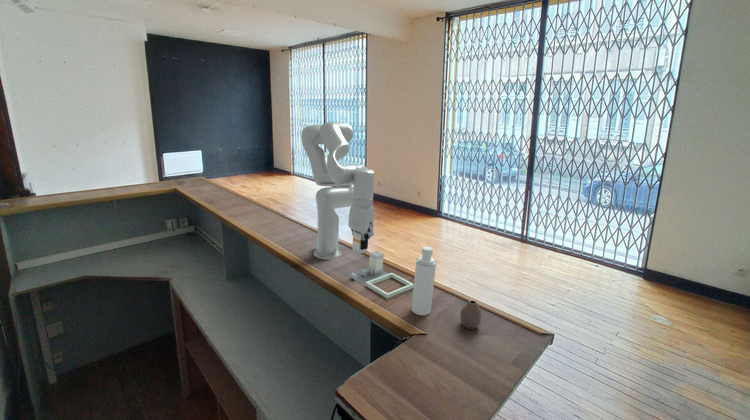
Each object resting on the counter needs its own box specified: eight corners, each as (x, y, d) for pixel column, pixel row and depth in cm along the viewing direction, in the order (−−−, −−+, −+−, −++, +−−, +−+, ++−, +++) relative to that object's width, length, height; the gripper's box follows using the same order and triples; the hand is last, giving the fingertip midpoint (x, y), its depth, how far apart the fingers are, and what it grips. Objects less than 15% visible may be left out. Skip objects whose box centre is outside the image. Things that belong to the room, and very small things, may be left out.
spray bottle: (434, 313, 130) (442, 246, 123) (417, 317, 127) (424, 248, 120) (424, 304, 135) (431, 239, 128) (408, 307, 133) (414, 241, 126)
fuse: (368, 270, 156) (369, 252, 153) (375, 268, 158) (377, 250, 156) (375, 274, 153) (376, 256, 150) (382, 271, 155) (383, 254, 153)
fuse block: (345, 277, 151) (345, 269, 150) (372, 268, 161) (373, 261, 160) (360, 287, 144) (361, 279, 143) (388, 277, 154) (389, 269, 153)
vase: (456, 327, 123) (459, 303, 120) (462, 317, 128) (465, 294, 126) (476, 334, 119) (480, 310, 117) (482, 324, 125) (486, 300, 123)
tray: (365, 289, 143) (365, 282, 143) (391, 279, 153) (391, 272, 152) (386, 302, 135) (387, 294, 134) (413, 291, 144) (413, 284, 143)
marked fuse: (352, 250, 147) (353, 231, 144) (360, 247, 149) (361, 229, 147) (359, 253, 144) (360, 234, 142) (367, 251, 147) (368, 232, 144)
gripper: (341, 197, 144) (339, 242, 150) (369, 209, 133) (366, 256, 138) (356, 195, 149) (354, 238, 154) (385, 206, 137) (381, 252, 143)
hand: (360, 246), depth 146 cm, fingers closed on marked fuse, 4 cm apart
